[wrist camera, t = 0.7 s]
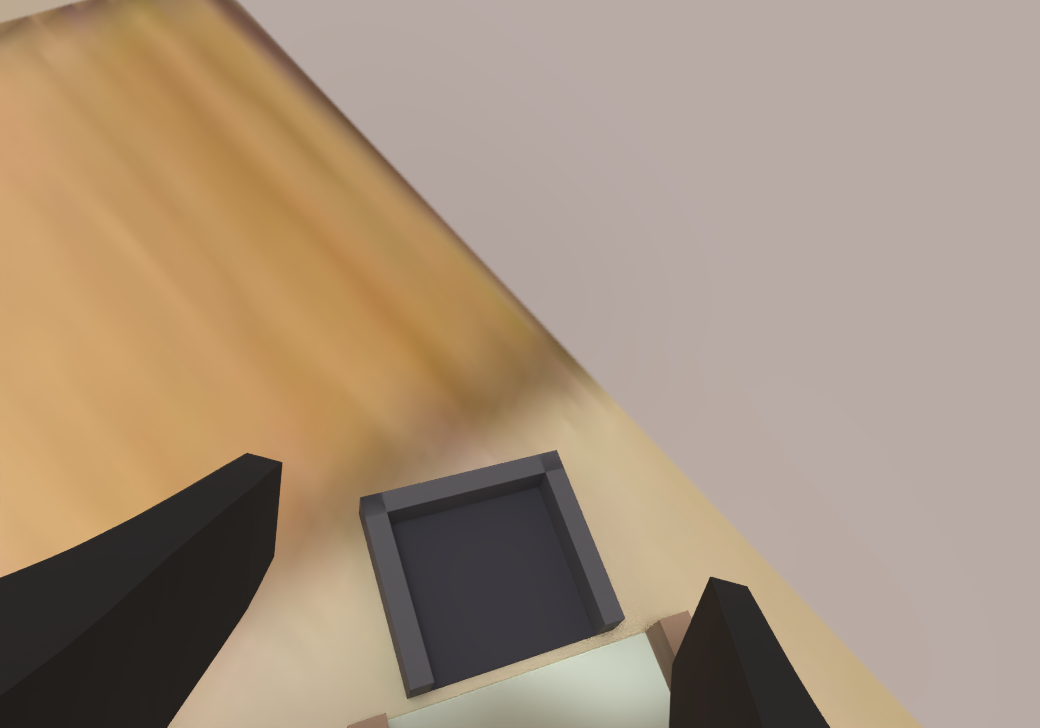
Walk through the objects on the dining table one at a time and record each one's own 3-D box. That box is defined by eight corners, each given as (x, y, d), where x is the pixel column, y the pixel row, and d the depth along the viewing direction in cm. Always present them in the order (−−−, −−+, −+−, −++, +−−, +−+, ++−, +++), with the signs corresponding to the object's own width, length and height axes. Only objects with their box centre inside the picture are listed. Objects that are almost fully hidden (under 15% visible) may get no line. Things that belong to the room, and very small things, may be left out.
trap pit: (613, 629, 30) (625, 618, 28) (407, 698, 27) (410, 690, 26) (548, 466, 33) (556, 450, 32) (359, 513, 30) (360, 497, 29)
